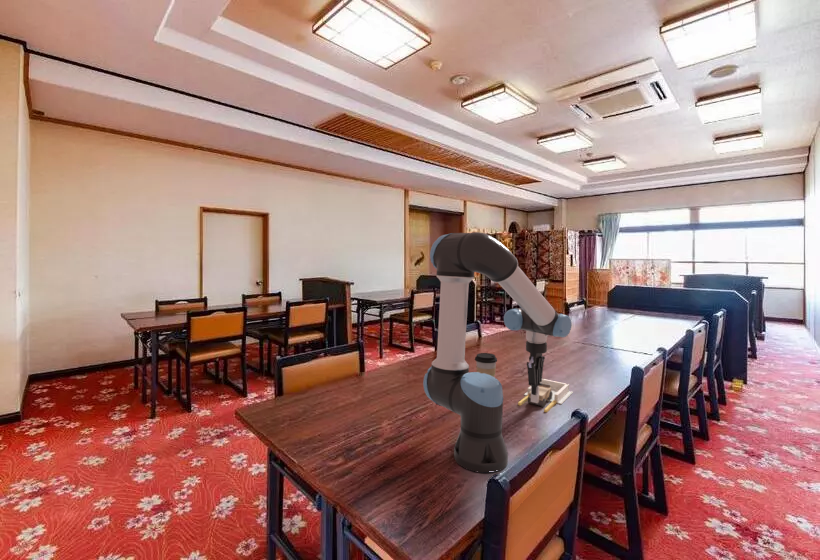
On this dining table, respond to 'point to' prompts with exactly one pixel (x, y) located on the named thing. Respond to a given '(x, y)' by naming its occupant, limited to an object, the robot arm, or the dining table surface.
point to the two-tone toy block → (542, 395)
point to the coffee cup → (486, 363)
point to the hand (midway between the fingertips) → (534, 401)
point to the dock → (558, 391)
